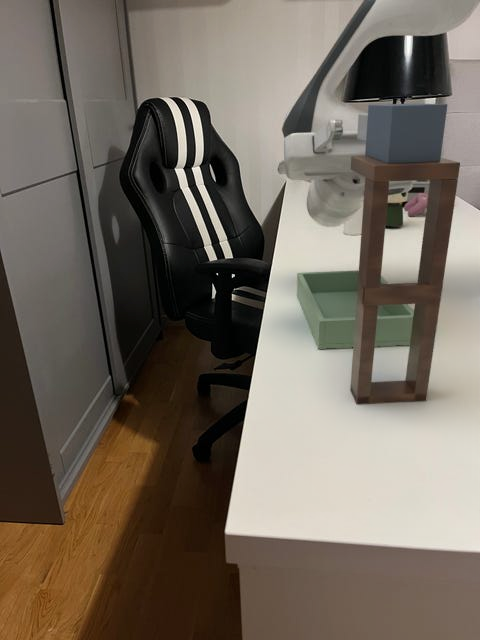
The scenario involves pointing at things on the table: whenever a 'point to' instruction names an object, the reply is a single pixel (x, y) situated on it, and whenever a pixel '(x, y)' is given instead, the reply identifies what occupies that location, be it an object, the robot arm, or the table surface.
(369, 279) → the shelf stand
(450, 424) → the table surface
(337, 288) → the tray
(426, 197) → the video game controller
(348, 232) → the eye dropper bottle
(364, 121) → the slate grey square prism
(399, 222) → the character mug
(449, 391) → the table surface
